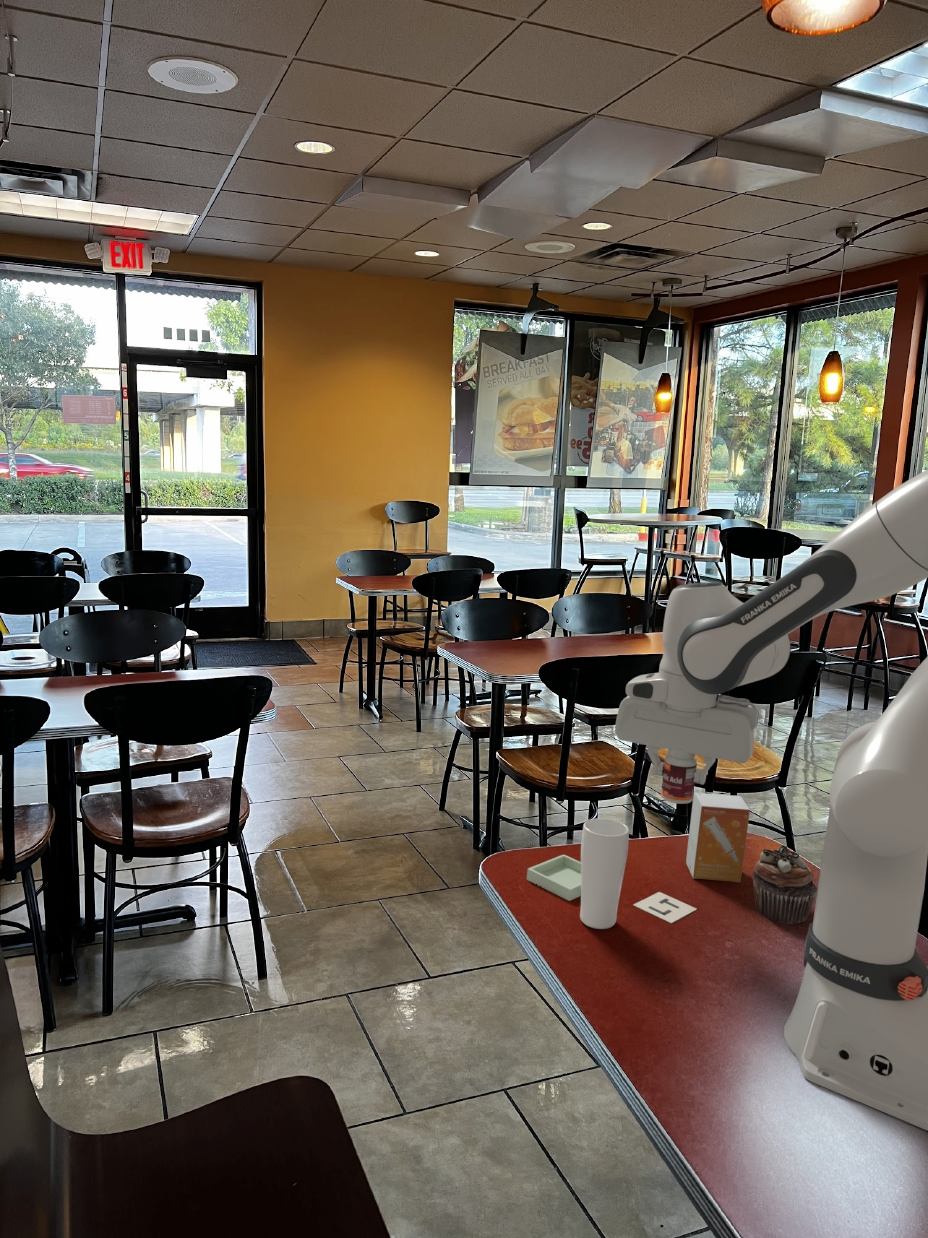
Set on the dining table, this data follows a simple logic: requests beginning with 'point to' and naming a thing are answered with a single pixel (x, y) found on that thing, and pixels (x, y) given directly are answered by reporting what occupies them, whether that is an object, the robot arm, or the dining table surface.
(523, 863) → the dining table surface
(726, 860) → the small box
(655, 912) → the coaster
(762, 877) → the cupcake
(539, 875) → the sage tray
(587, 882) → the drinking glass
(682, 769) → the pill bottle
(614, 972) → the dining table surface
